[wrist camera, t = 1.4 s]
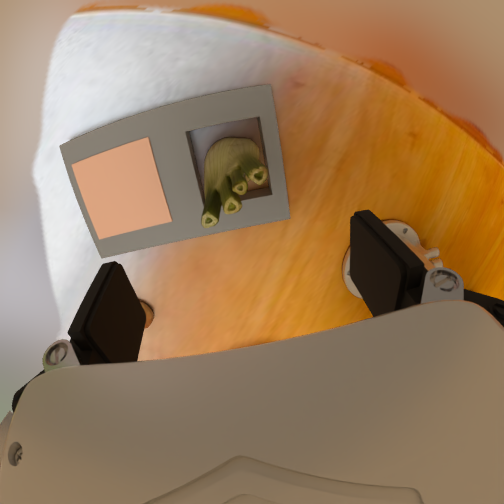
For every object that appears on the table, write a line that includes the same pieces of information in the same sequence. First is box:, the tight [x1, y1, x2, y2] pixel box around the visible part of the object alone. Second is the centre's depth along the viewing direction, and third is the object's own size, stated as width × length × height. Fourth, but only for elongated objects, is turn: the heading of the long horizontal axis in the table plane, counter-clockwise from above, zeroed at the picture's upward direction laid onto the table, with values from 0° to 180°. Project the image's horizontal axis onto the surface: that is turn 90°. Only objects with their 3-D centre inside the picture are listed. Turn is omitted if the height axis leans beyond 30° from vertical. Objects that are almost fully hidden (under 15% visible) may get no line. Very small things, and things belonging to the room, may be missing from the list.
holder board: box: [60, 84, 290, 258], centre depth 27 cm, size 22×14×3 cm, turn 100°
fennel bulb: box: [201, 137, 268, 228], centre depth 23 cm, size 6×5×12 cm
